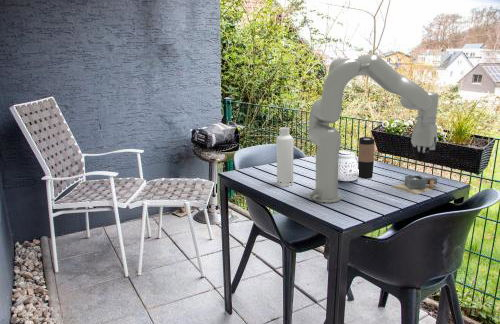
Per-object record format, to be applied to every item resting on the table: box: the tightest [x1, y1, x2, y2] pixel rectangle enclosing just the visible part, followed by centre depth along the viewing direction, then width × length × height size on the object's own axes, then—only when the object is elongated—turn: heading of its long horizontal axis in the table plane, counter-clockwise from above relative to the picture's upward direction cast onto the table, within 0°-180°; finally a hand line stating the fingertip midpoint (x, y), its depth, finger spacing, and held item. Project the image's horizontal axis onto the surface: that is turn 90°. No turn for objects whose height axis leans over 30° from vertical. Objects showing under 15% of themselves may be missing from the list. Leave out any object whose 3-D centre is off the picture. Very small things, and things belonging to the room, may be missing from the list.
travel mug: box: [357, 136, 376, 179], centre depth 195 cm, size 8×8×20 cm
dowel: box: [428, 180, 435, 190], centre depth 172 cm, size 2×2×4 cm
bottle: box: [275, 126, 294, 187], centre depth 186 cm, size 8×8×28 cm
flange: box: [404, 175, 439, 189], centre depth 174 cm, size 13×7×4 cm, turn 87°
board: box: [390, 182, 436, 195], centre depth 175 cm, size 15×13×1 cm
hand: (421, 160), depth 175 cm, fingers closed
